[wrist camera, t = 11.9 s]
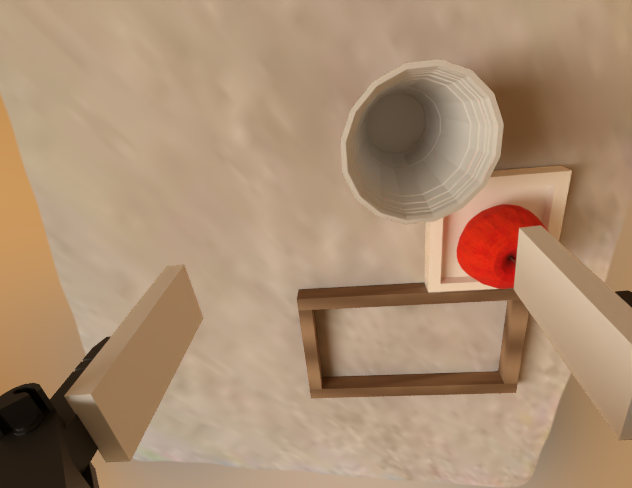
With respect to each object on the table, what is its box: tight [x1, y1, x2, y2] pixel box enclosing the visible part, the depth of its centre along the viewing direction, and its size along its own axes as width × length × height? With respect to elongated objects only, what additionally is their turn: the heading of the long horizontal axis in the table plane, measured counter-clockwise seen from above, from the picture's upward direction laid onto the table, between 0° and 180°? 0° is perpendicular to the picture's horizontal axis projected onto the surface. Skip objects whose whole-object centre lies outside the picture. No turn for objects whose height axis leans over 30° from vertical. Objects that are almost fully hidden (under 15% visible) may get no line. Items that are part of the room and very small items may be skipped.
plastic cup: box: [340, 59, 504, 224], centre depth 31 cm, size 11×11×12 cm
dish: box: [425, 165, 572, 294], centre depth 39 cm, size 12×12×2 cm
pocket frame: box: [297, 283, 529, 398], centre depth 46 cm, size 15×25×2 cm, turn 96°
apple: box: [457, 204, 550, 289], centre depth 36 cm, size 8×8×7 cm
